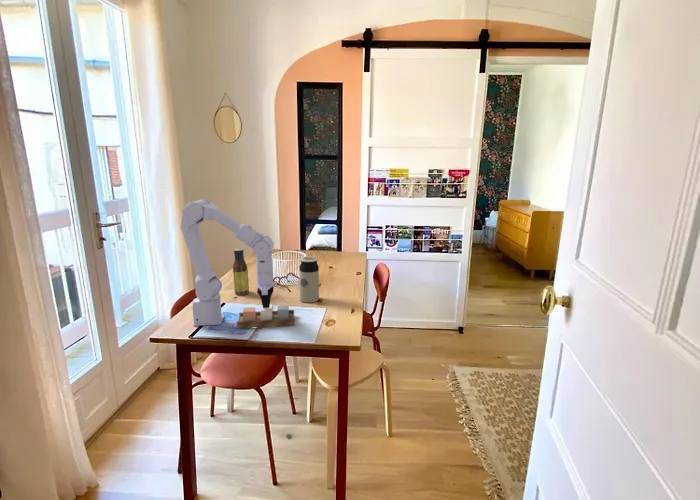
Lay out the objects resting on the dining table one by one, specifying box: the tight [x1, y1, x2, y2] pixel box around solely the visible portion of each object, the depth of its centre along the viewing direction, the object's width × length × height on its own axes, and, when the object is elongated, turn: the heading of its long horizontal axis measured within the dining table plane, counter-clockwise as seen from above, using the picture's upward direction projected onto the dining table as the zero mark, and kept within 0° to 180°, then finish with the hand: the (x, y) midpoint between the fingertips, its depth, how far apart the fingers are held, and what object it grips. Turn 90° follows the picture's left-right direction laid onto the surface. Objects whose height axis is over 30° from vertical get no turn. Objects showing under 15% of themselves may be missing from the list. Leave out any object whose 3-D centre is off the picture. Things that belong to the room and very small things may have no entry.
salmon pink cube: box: [242, 306, 257, 321], centre depth 141 cm, size 4×4×4 cm
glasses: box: [273, 272, 300, 293], centre depth 183 cm, size 13×13×5 cm
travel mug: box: [298, 256, 320, 304], centre depth 164 cm, size 8×8×18 cm
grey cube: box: [276, 305, 290, 319], centre depth 143 cm, size 4×4×4 cm
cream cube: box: [259, 305, 273, 320], centre depth 142 cm, size 4×4×4 cm
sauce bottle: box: [232, 248, 250, 296], centre depth 170 cm, size 6×6×20 cm
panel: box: [236, 309, 296, 330], centre depth 143 cm, size 20×9×2 cm, turn 100°
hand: (266, 307), depth 142 cm, fingers closed
